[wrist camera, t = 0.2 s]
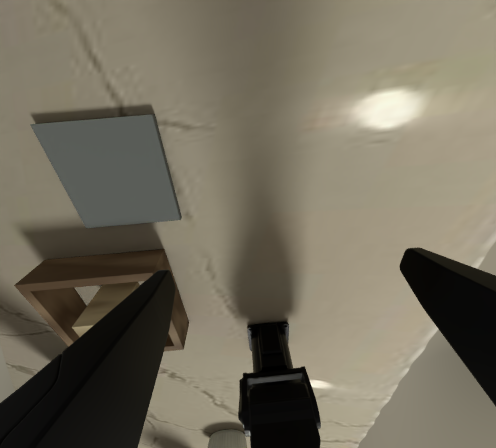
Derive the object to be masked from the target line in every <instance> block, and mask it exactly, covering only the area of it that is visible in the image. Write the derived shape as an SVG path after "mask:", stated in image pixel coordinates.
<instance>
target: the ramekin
mask: <svg viewBox="0 0 496 448" xmlns="http://www.w3.org/2000/svg"><path fill="white" fill-rule="evenodd" d="M208 448H247V444H246V438H245V435H244V434H243V432H241V431H239V430H233V429H227V430H220V431H217V432H215V433H213V434H212V435H211V437H210V439H209V444H208Z"/></svg>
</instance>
